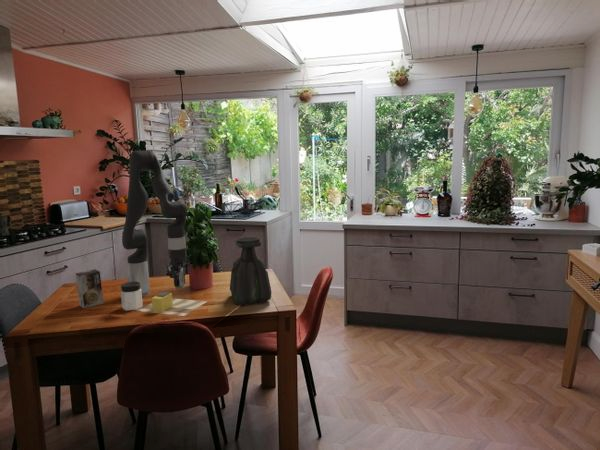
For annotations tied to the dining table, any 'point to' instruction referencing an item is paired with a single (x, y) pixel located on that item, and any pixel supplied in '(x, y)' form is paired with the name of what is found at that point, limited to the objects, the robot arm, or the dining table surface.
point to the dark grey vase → (249, 275)
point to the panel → (177, 307)
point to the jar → (131, 296)
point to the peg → (180, 279)
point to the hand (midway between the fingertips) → (179, 285)
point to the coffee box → (89, 288)
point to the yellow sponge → (162, 302)
